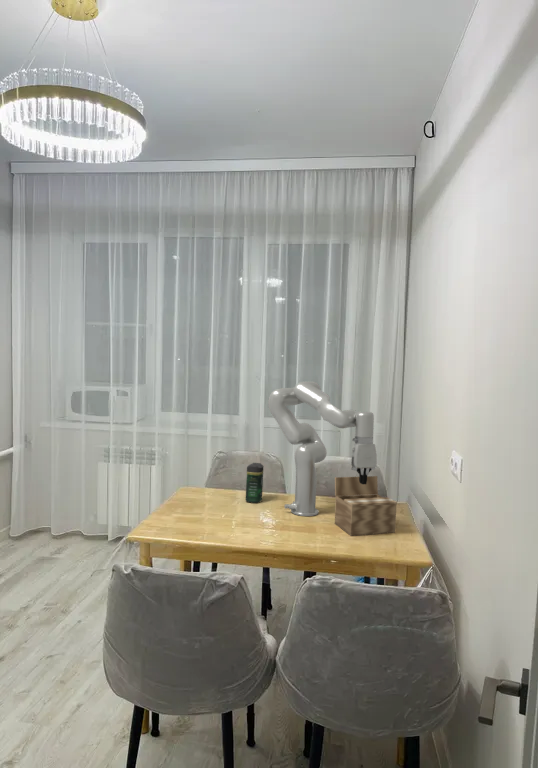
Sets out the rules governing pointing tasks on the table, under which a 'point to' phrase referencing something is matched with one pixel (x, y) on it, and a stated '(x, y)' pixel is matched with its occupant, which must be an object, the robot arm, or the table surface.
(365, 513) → the carton
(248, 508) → the table surface
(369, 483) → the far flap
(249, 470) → the coffee jar
